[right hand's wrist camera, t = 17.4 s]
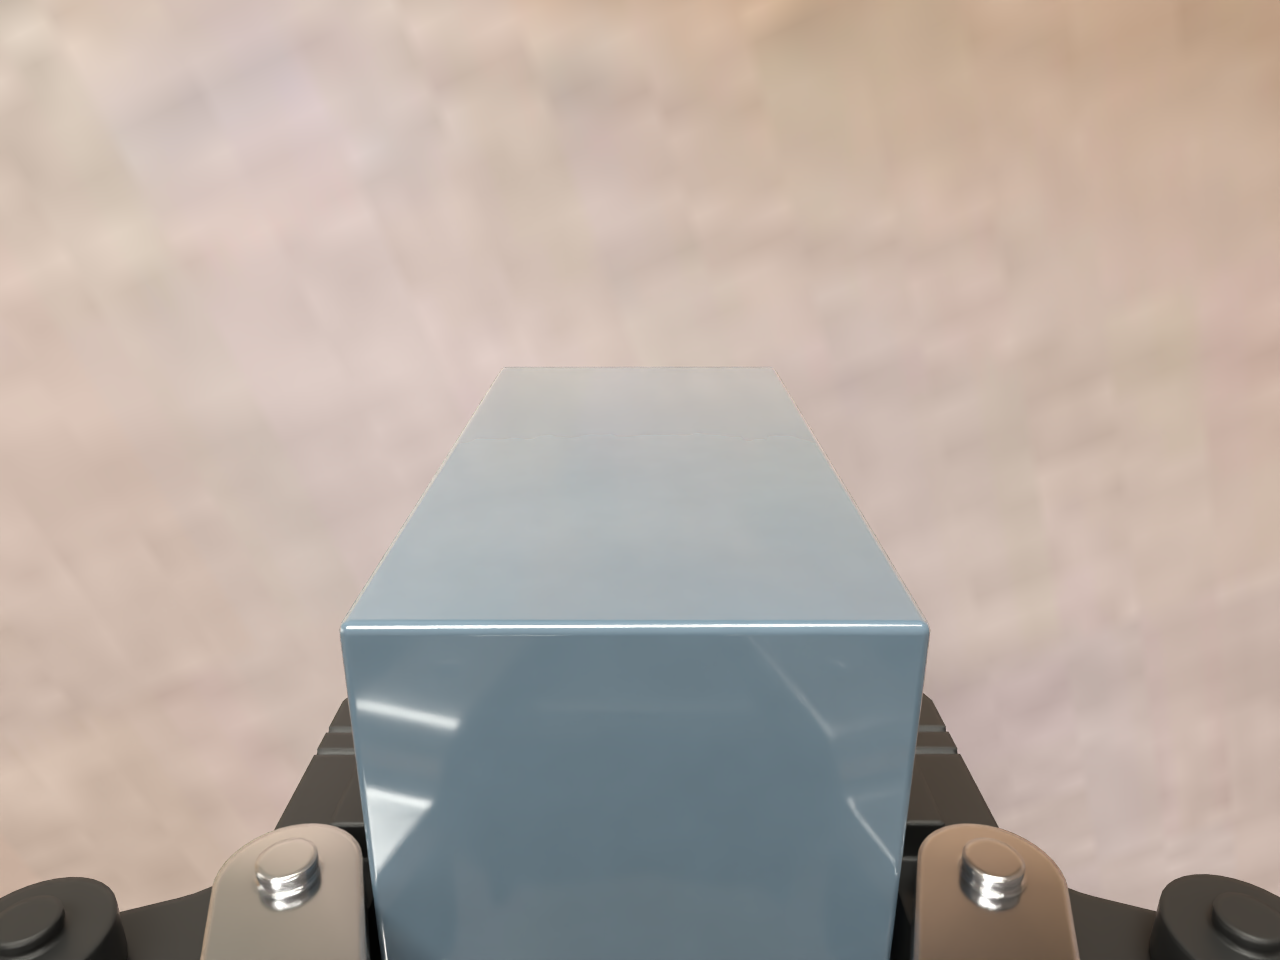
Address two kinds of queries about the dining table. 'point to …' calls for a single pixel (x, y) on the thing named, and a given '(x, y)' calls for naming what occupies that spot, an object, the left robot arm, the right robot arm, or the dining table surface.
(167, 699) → the dining table surface
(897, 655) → the block
